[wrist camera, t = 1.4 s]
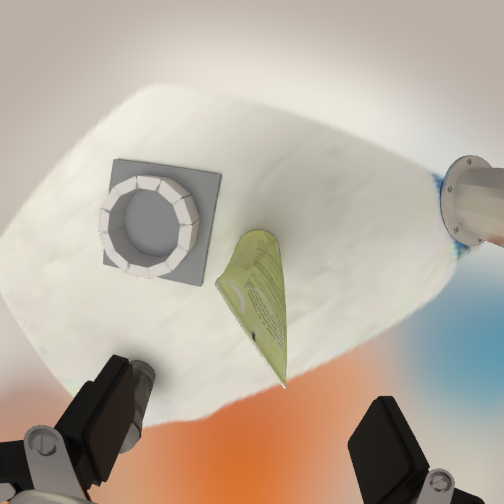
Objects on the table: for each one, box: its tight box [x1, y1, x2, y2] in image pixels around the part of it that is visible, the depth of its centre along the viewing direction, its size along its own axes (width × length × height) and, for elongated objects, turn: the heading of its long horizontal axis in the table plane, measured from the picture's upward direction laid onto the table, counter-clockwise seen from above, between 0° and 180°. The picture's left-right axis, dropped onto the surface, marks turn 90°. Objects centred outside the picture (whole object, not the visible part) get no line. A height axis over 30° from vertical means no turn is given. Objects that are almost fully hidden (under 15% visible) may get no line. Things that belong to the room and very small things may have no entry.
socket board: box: [98, 159, 221, 287], centre depth 30 cm, size 13×13×5 cm
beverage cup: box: [119, 360, 155, 454], centre depth 29 cm, size 7×7×20 cm
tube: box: [215, 230, 287, 388], centre depth 24 cm, size 6×5×20 cm
